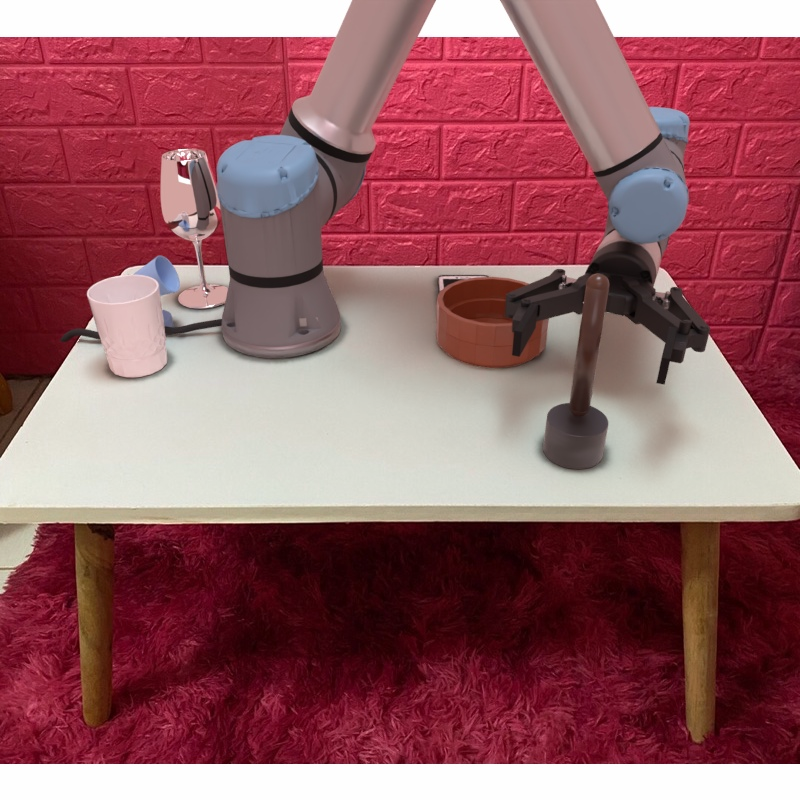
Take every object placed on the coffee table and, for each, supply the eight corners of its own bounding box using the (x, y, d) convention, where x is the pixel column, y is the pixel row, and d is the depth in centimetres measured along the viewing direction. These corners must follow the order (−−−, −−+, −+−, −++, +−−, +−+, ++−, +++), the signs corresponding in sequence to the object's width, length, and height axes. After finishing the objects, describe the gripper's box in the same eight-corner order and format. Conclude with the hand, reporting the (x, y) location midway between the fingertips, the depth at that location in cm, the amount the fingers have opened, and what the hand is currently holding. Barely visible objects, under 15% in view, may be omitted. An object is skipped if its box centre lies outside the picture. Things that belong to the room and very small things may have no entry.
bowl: (426, 363, 94) (427, 319, 90) (446, 313, 105) (447, 272, 102) (541, 376, 91) (546, 331, 88) (548, 323, 102) (553, 282, 99)
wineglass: (192, 315, 105) (168, 167, 94) (168, 295, 110) (142, 153, 99) (243, 299, 109) (226, 155, 98) (217, 281, 114) (198, 143, 103)
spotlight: (190, 320, 103) (139, 319, 104) (178, 249, 98) (125, 248, 98) (179, 337, 99) (127, 336, 99) (166, 265, 94) (111, 264, 94)
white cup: (154, 384, 90) (138, 306, 84) (92, 377, 91) (72, 300, 86) (183, 351, 96) (170, 277, 91) (125, 345, 97) (109, 271, 92)
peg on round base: (541, 464, 77) (563, 285, 66) (544, 430, 82) (566, 258, 71) (602, 473, 76) (635, 291, 65) (602, 438, 81) (633, 264, 70)
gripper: (730, 319, 86) (720, 418, 70) (514, 284, 94) (459, 366, 78) (746, 256, 82) (739, 346, 66) (519, 225, 90) (462, 298, 74)
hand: (587, 357), depth 72 cm, fingers open, 13 cm apart
